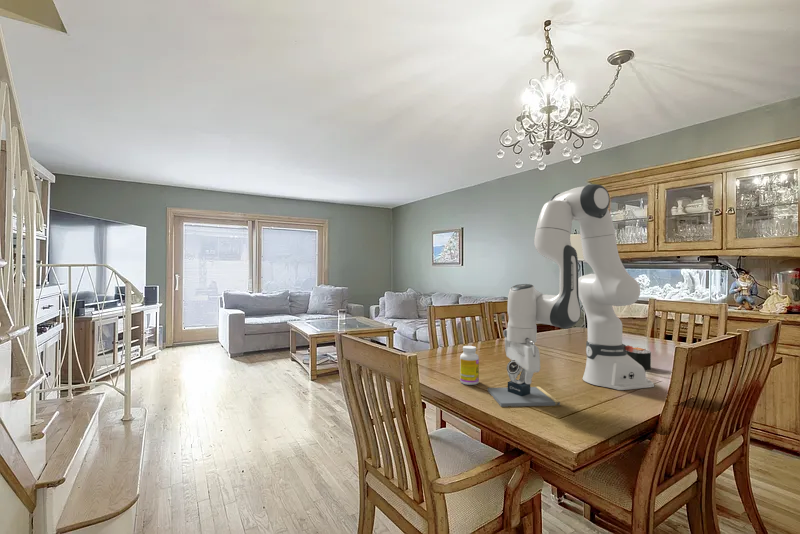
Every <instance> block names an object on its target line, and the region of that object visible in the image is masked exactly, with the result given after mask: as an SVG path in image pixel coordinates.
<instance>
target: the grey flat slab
mask: <svg viewBox="0 0 800 534" xmlns="http://www.w3.org/2000/svg"><path fill="white" fill-rule="evenodd" d="M487 392H488V394H490V395H491V397H492V396H493V397H492V398H493V399H494V401H496V403H498V405H499V406H500V407H502V408H503V407H504V408H505V407H508V406H511V407H546V406H553V407H555V406H561V402H560V401H559V400H558V399H557V398H555V397H554V396H553V395H552V394H550V393H549V392H547V391H546V390H545V389H543V388H542V387H541V386H530V394H527V395H524V396H519V395H517V394H514V393H511V392H508V387H487Z"/></svg>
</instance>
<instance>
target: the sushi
mask: <svg viewBox="0 0 800 534" xmlns="http://www.w3.org/2000/svg"><path fill="white" fill-rule="evenodd" d="M633 350H634V351H633V352H629V351H627V350H626V351H627V355H629V356H630V357H631V358H632V359H634V360H635V361H636V362H638V363H639V364H640V365H642V366H643V368H644V370H645V371H650V370H652V369H651V368H652V367H651V366H652V365H651V363H652V361H651V360H652V351H651V350H649V349H647V348H643V347H639V346H638V347H633Z"/></svg>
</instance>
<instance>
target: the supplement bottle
mask: <svg viewBox="0 0 800 534" xmlns="http://www.w3.org/2000/svg"><path fill="white" fill-rule="evenodd" d="M462 351H463V352H462V353H461V354H460V356H459V381H460V383H461V384H463V385H466V386H475V385H477V384H479V380H480V379H479V377H480V375H479V374H480V373H479V372H480V367H479V365H480V362H479V361H480V360H479V359H480V357H479V355H478V354H477V353H476V352H477V347H476V346H474V345H473V346H472V345H463V346H462Z"/></svg>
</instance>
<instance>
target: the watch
mask: <svg viewBox="0 0 800 534" xmlns="http://www.w3.org/2000/svg"><path fill="white" fill-rule="evenodd" d="M506 371H507V376H508V378H509V380H508V381H507V388H508V392H511V393H514V394H517V395H519V396H524V395H527V394H530V387H531V384H526V383H525V382H524V377H525V374H526V373H525V369H523V368H522V367H520V366H519V365H518V364H516V361H515V360H514V359H513V360H511V359H510V361H509V362H507V365H506ZM519 373H520V374H519ZM518 374H519V375H518ZM518 376H519V379H517V378H518Z"/></svg>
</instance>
